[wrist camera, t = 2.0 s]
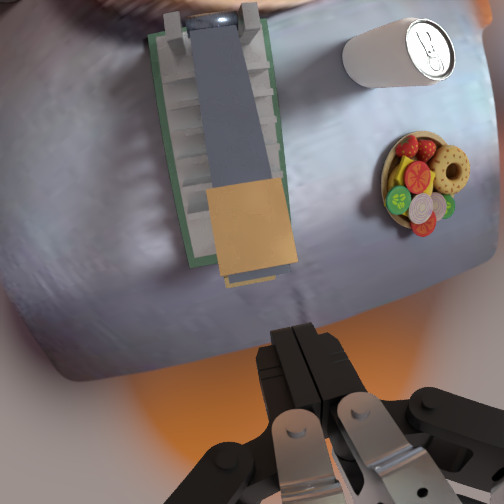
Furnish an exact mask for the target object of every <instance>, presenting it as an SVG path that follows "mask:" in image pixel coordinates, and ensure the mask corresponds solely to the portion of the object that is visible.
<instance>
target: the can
mask: <svg viewBox="0 0 504 504" xmlns="http://www.w3.org/2000/svg"><path fill="white" fill-rule="evenodd" d="M342 59H343V64H344V67H345V70H346V72H347V73H348V75H349V76H350V77H351V78H352V79H353V80H354V81H355V82H356V83H358V84H359V85H361V86H364V87H367V88H386V87H406V86H428V85H433V84H436V83H438V82H439V81H442V80H445V79H447V78H448V77H449V76H450V75H451V74H452V72H453V70H454V67H455V51H454V47H453V45H452V42H451V40H450V38H449V36H448V35H447V33H446V32H445V31H444V30H443V29H442V28H441V27H440V26H439V25H438V24H436V23H435V22H433V21H431V20H428V19H417V18H405V19H401V20H398V21H395V22H392V23H389V24H386V25H384V26H381V27H378V28H375V29H373V30H370V31H368V32H365V33H363V34H360V35H358V36H356V37H354V38H352V39H350V40H349V41H348V42H347V43H346V45H345V47H344V49H343V54H342Z"/></svg>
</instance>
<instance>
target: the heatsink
mask: <svg viewBox="0 0 504 504" xmlns="http://www.w3.org/2000/svg"><path fill="white" fill-rule="evenodd" d="M163 16H164V24H165V31H163V32H159V33H154V34H150V35H148V42H149V51H150V59H151V66H152V73H153V81H154V87H155V94H156V101H157V107H158V113H159V119H160V125H161V131H162V137H163V143H164V148H165V154H166V159H167V165H168V170H169V175H170V180H171V185H172V190H173V195H174V200H175V205H176V209H177V214H178V219H179V223H180V228H181V232H182V237H183V241H184V246H185V250H186V254H187V259H188V263H189V267H190V268H194V267H199V266H205V265H211V264H216V263H218V259H217V253H216V247H215V242H214V236H213V230H212V224H211V218H210V212H209V206H208V200H207V194H206V189H211V188H213V187H212V181H211V175H210V169H209V163H208V156H207V150H206V144H205V137H204V131H203V124H202V117H201V111H200V104H199V97H198V90H197V83H196V76H195V69H194V62H193V54H192V47H191V39H190V38H189V39H188V36H187V29H186V27H184V28H182V23H181V19H180V14H179V11H177V12H172V13H167V14H163ZM237 17H238V35H239V38H240V42H241V46H242V50H243V54H244V58H245V62H246V66H247V70H248V74H249V78H250V82H251V86H252V91H253V95H254V99H255V103H256V107H257V112H258V116H259V120H260V125H261V129H262V133H263V138H264V142H265V147H266V151H267V156H268V160H269V165H270V169H271V174H272V179H273V178H280V177H281V181H282V185H283V190H284V195H285V199H286V204H287V209H288V213H289V218H290V223H291V217H290V206H289V195H288V185H287V175H286V165H285V156H284V147H283V138H282V129H281V120H280V112H279V104H278V96H277V88H276V81H275V73H274V66H273V59H272V52H271V45H270V38H269V31H268V25H267V19H259V13H258V6H257V2H254V3H241V6H240V8H239V11H238V14H237ZM224 279H225V285H226V288H231V287H236V286H242V285H247V284H252V283H258V282H263V281H268V280H274V279H275V275H274V276H268V277H263V278H258V279H253V280H247V281H242V282H236V283H231V284H229V278H228V275H227V276H224Z"/></svg>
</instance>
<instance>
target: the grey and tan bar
mask: <svg viewBox="0 0 504 504" xmlns="http://www.w3.org/2000/svg"><path fill="white" fill-rule="evenodd" d="M185 21H186V29H187V36H188V39H189V38H190V39H191V47H192V54H193V62H194V69H195V76H196V83H197V90H198V97H199V104H200V111H201V117H202V124H203V131H204V137H205V144H206V150H207V156H208V163H209V169H210V175H211V181H212V187H213V188H211V189H206V194H207V200H208V206H209V212H210V218H211V224H212V230H213V236H214V242H215V247H216V253H217V259H218V264H219V270H220V275H221V276H227V275H228V278H229V284H231V283H236V282H242V281H247V280H253V279H258V278H263V277H268V276H274V275H279V274H284V273H289V272H291V268H290V264H291V263H296V262H298V258H297V253H296V248H295V243H294V238H293V233H292V228H291V223H290V218H289V213H288V209H287V204H286V199H285V195H284V190H283V185H282V181H281V177H280V178H273V179H272V174H271V169H270V165H269V160H268V156H267V151H266V147H265V142H264V138H263V133H262V129H261V125H260V120H259V116H258V112H257V107H256V103H255V99H254V95H253V91H252V86H251V82H250V78H249V74H248V70H247V66H246V62H245V58H244V54H243V50H242V46H241V42H240V38H239V35H238V17H237V12H236V10H235V11H224V12H215V13H208V14H200V15H194V16H187V17H185Z"/></svg>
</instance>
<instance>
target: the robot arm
mask: <svg viewBox="0 0 504 504" xmlns="http://www.w3.org/2000/svg"><path fill="white" fill-rule="evenodd" d="M14 1H17V0H0V2H4V3H9V2H14ZM270 336H271V344H272V345H270V346H265V347H260V348H259V350H258V353H257V356H256V364H257V369H258V375H259V381H260V386H261V390H262V395H263V398H264V403H265V407H266V411H267V415H268V420H269V424H268V426H267V428H266V430H265V431H264V432H263V433H262V434H261V435H260V436H259V437H257V438H256V439H254V440H252V441H249V442H248V443H245V444H243V445H241V444H239V443H235V442H223V443H219V444H217V445H215V446H213V447H211V448H210V449H209V450H208V451H207V452H206V453H205V454H204V456H203V457H202V458H201V459H200V461H199V462H198V463H197V464H196V466H195V467H194V468H193V469H192V471H191V472H190V473H189V474H188V475H187V477H186V478H185V479H184V480H183V482H182V483H181V484H180V485H179V486H178V488H177V489H176V490H175V491H174V492H173V493H172V494H171V496H170V497H169V498H168V499H167V500H166V501H165V502H164V504H260V503H261V501H262V500H263V499H265V498H267V497H269V496H271V495H273V494H274V493H276V492H278V491H280V490H281V498H282V504H346V501H345V497H344V494H343V490H342V487H341V485H340V482H339V481H338V480H337V479H336V478H335V475H334V472H333V468H332V464H331V461H330V457H329V453H328V450H327V446H326V442H325V439H326V438H329V439H330V441H331V444H332V446H333V447H332V456H333V459H334V461H335V463H336V465H337V467H338V469H339V471H340V473H341V475H342V477H343V479H344V481H345V483H346V485H347V487H348V489H349V491H350V494H351V495H352V498H353V501H354V504H487V503H484V502H481V501H478V500H475V499H472V498H469V497H466V496H463V495H459V494H456V493H455V492H454V490H453V489H452V487H451V486H450V484H449V483H448V481H447V480H446V479H449V480H451V481H455V482H457V483H460V484H463V485H467V486H470V487H473V488H476V489H479V490H483V491H486V492H490V493H491V498H490V504H504V410H501V409H497V408H494V407H491V406H488V405H485V404H482V403H479V402H476V401H473V400H470V399H466V398H464V397H461V396H457V395H454V394H452V393H449V392H446V391H443V390H440V389H438V388H433V387H424V388H421V389H419V390H417V391H415V392H414V393H413V394H412V396H411V397H410V399H408V400H396V401H385V400H380V399H378V398H377V397H376V396H375V395H373V394H370V393H368V392H367V390H366V389H365V387H364V386H363V384H362V382H361V380H360V378H359V376H358V374H357V373H356V371H355V369H354V367H353V365H352V364H351V362H350V360H349V359H348V356H347V355H346V353H345V352H344V349H343V348H342V346H341V344H340V342H339V341H338V339H336V338H335V337H334V336H332V335H331V334H329V333H328V332H327V333H323V334H319V335H318V334H317V332H316V330H315V328H314V326H313V324H312V323H311V322H309V323H305V324H300V325H296V326H292V327H287V328H282V329H278V330H273V331H270Z"/></svg>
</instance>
